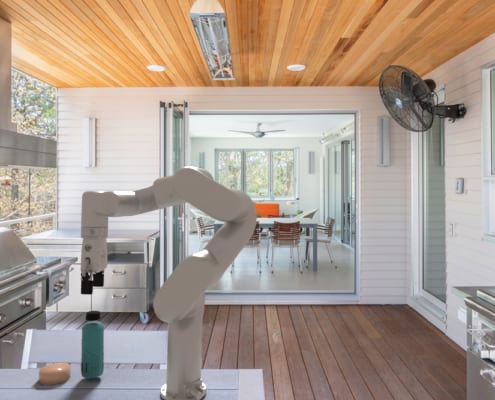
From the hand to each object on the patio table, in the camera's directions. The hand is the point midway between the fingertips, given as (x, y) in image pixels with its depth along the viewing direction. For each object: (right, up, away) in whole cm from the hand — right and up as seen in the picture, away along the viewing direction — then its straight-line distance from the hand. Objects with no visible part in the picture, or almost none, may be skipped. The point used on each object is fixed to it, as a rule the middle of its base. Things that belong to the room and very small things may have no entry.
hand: (92, 290), depth 119 cm
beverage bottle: (0, -27, 0) cm, 27 cm away
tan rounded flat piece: (-11, -26, -1) cm, 28 cm away
